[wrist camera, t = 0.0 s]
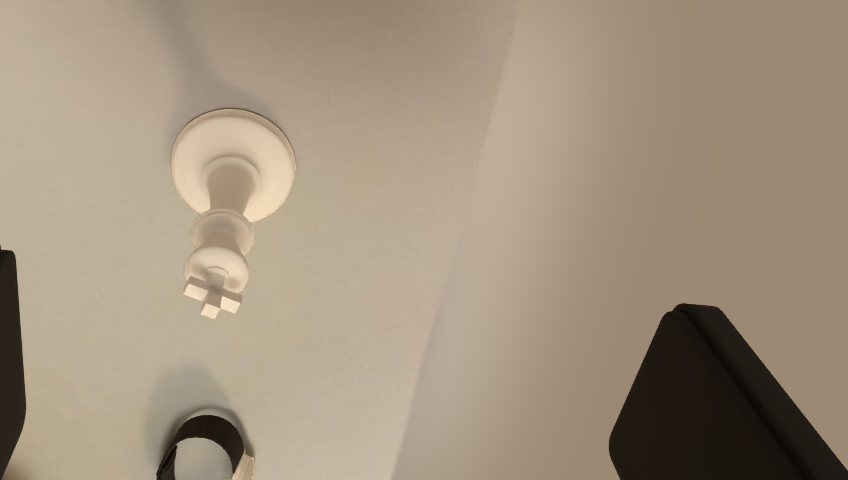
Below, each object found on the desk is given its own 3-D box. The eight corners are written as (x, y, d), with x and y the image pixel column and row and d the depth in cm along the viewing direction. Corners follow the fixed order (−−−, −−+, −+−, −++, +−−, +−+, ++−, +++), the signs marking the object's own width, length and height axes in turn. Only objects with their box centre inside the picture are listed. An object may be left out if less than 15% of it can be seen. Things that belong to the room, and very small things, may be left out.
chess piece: (263, 235, 33) (251, 393, 25) (152, 188, 31) (97, 342, 23) (316, 142, 31) (322, 279, 23) (201, 86, 29) (162, 213, 21)
